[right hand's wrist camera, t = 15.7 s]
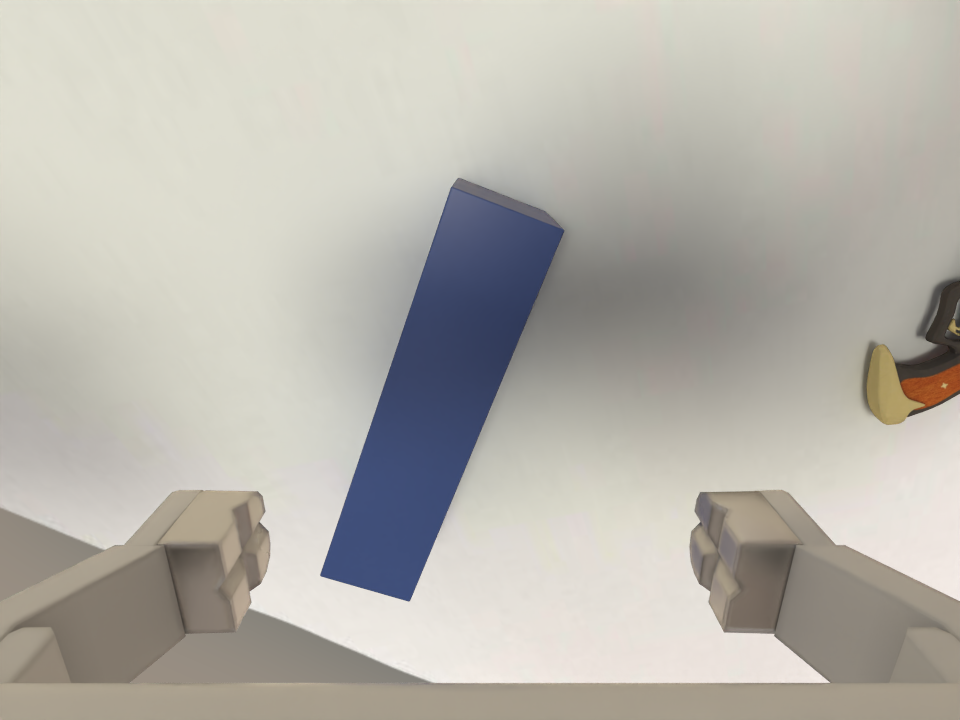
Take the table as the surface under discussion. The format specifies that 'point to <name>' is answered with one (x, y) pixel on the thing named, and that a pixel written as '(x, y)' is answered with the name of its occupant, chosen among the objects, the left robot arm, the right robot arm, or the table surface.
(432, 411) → the bar
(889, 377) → the toy gun
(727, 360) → the table surface
